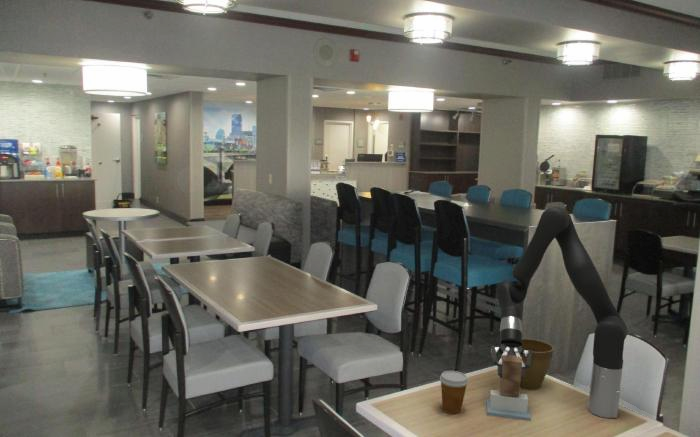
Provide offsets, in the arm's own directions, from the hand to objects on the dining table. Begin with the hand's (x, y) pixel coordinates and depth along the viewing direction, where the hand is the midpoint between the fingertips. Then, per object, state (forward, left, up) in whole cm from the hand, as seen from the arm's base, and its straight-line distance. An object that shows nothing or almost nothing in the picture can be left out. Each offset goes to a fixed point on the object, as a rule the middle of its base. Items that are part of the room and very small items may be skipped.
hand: (511, 377), depth 186 cm
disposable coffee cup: (+17, +7, -13) cm, 23 cm away
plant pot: (-3, -28, -13) cm, 31 cm away
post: (0, -2, -6) cm, 6 cm away
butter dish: (0, -2, -13) cm, 13 cm away
